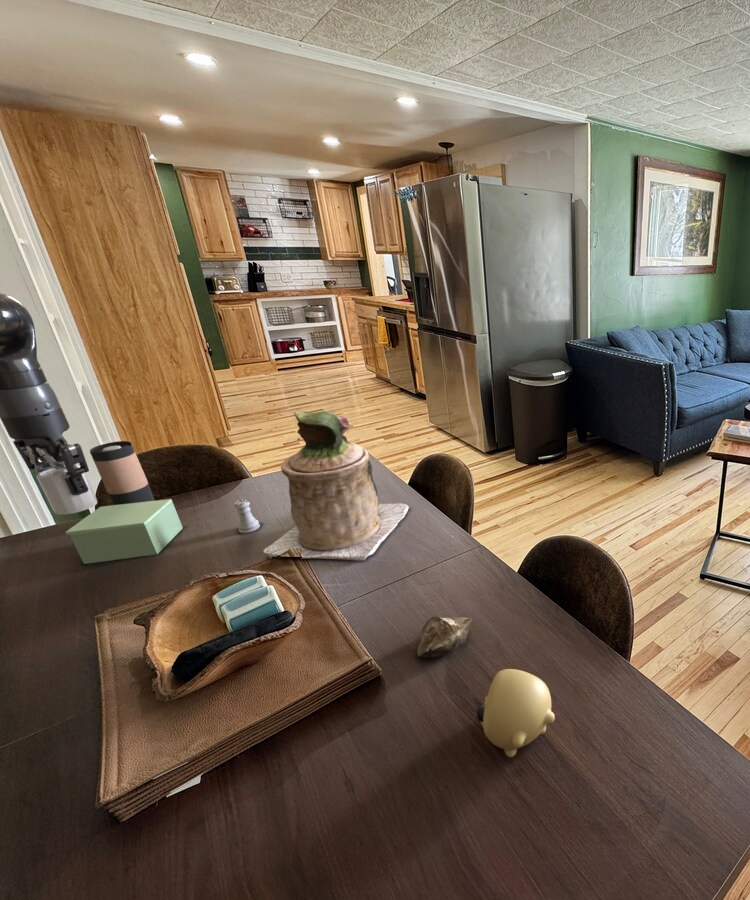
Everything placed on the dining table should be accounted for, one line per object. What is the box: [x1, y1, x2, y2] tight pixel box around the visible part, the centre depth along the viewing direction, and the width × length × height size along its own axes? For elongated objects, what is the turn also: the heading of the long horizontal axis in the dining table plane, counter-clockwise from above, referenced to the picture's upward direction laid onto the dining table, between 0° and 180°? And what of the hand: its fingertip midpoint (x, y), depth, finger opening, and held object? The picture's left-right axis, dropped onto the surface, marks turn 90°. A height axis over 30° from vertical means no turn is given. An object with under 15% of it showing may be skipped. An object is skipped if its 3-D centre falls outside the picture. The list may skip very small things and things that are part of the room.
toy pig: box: [476, 668, 556, 758], centre depth 67 cm, size 10×12×11 cm
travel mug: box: [89, 440, 156, 505], centre depth 120 cm, size 8×8×20 cm
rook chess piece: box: [233, 498, 261, 534], centre depth 117 cm, size 4×4×8 cm
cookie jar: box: [263, 410, 410, 562], centre depth 111 cm, size 25×25×32 cm
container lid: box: [65, 498, 173, 536], centre depth 109 cm, size 14×12×1 cm
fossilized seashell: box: [416, 616, 473, 659], centre depth 83 cm, size 8×7×10 cm
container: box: [69, 501, 184, 565], centre depth 110 cm, size 14×12×8 cm
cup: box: [35, 464, 98, 516], centre depth 92 cm, size 6×6×8 cm
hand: (69, 490), depth 92 cm, fingers closed on cup, 6 cm apart
